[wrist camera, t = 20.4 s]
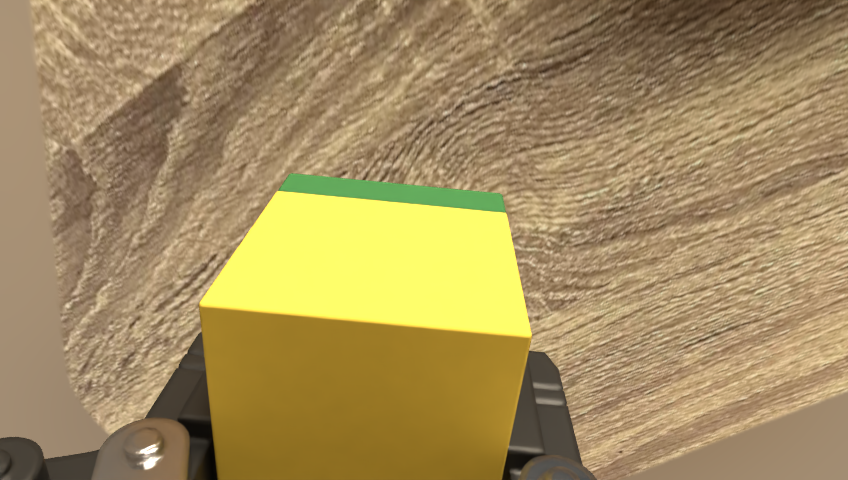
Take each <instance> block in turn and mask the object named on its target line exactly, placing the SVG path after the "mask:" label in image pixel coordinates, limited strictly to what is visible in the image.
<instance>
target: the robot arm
mask: <svg viewBox="0 0 848 480" xmlns="http://www.w3.org/2000/svg"><path fill="white" fill-rule="evenodd" d="M566 404H567V402H566V398H565V394H564V391H563V386H562V382H561V378H560V374H559V370H558V368H557V367H556V366H555V365H554V363H553V362H552V361H551V360H550V358H549V357H548V356H547V355H546V354H545V352H535V351H529V352H528V357H527V362H526V366H525V371H524V376H523V381H522V385H521V390H520V395H519V400H518V404H517V409H516V414H515V419H514V423H513V428H512V433H511V437H510V442H509V447H508V452H507V456H506V461H505V466H504V471H503V475H502V480H597V479H596V478H595V476H594V475H593V474H592V473H591V472H590V471H589V470H588V469H587V468H585V467H584V466H583V464H582V461H581V457H580V453H579V449H578V445H577V441H576V437H575V434H574V430H573V426H572V422H571V418H570V414H569V410H568V406H566ZM0 480H218V479H217V470H216V461H215V451H214V442H213V432H212V423H211V414H210V404H209V395H208V385H207V376H206V367H205V357H204V348H203V338H202V332H201V333H199V334H198V336H197V337H196V339H195V340H194V342H193V343H192V345H191V347H190V348H189V350H188V353H187V354H185V356H184V358H183V359H182V361H181V362H180V364H179V368H177V369H176V370H175V372H174V373H173V375H172V376H171V378H170V379H169V381H168V383H167V384H166V386H165V387H164V389H163V390H162V392H161V394H160V395H159V397H158V398H157V400H156V401H155V403H154V405H153V406H152V408H151V409H150V411H149V412H148V414H147V415H146V417H145V419H142V420H138V421H135V422H132V423H130V424H127V425H125V426H123V427H122V428H120V429H118V430H117V431H115V432H114V433H113V434H112V435H111V436H109V437H108V439H107V440H106V441H105V442H104V443H103V445H102V446H101V448H100V449H99V450H96V451H92V452H87V453H81V454H75V455H69V456H62V457H55V458H50V459H44V456H43V452H42V449H41V448H40V446H39V445H38V444H37V443H36V442H34V441H32V440H30V439H26V438H20V437H7V438H1V439H0Z"/></svg>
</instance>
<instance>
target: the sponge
mask: <svg viewBox="0 0 848 480" xmlns="http://www.w3.org/2000/svg"><path fill="white" fill-rule="evenodd" d="M199 310H200V320H201V329H202V338H203V348H204V357H205V367H206V376H207V385H208V395H209V404H210V414H211V423H212V432H213V442H214V451H215V461H216V470H217V479H218V480H502V475H503V471H504V466H505V461H506V456H507V452H508V447H509V442H510V437H511V433H512V428H513V423H514V419H515V414H516V409H517V404H518V400H519V395H520V390H521V385H522V381H523V376H524V371H525V366H526V362H527V357H528V352H529V348H530V343H531V338H532V335H531V330H530V325H529V320H528V315H527V311H526V306H525V301H524V296H523V291H522V286H521V281H520V277H519V272H518V267H517V262H516V257H515V252H514V247H513V243H512V238H511V233H510V228H509V223H508V218H507V214H506V211H505V206H504V201H503V196H502V195H501V194H499V193H490V192H479V191H469V190H458V189H448V188H438V187H427V186H417V185H407V184H396V183H386V182H376V181H365V180H355V179H344V178H334V177H324V176H313V175H303V174H293V173H292V174H289V175H288V177H287V178H286V180H285V181H284V183H283V184H282V186H281V187H280V189H279V190H278V192H276V193H275V195H274V196H273V198H272V199H271V201H270V202H269V203H268V205H267V206H266V208H265V209H264V211H263V212H262V214H261V215H260V216H259V218H258V219H257V221H256V222H255V224H254V225H253V226H252V228H251V229H250V231H249V232H248V234H247V235H246V237H245V238H244V239H243V241H242V242H241V244H240V245H239V247H238V248H237V250H236V251H235V252H234V254H233V255H232V257H231V258H230V260H229V261H228V263H227V264H226V265H225V267H224V268H223V270H222V271H221V273H220V274H219V276H218V277H217V278H216V280H215V281H214V283H213V284H212V286H211V287H210V289H209V290H208V291H207V293H206V294H205V296H204V297H203V299H202V300H201V301H200V303H199Z"/></svg>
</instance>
